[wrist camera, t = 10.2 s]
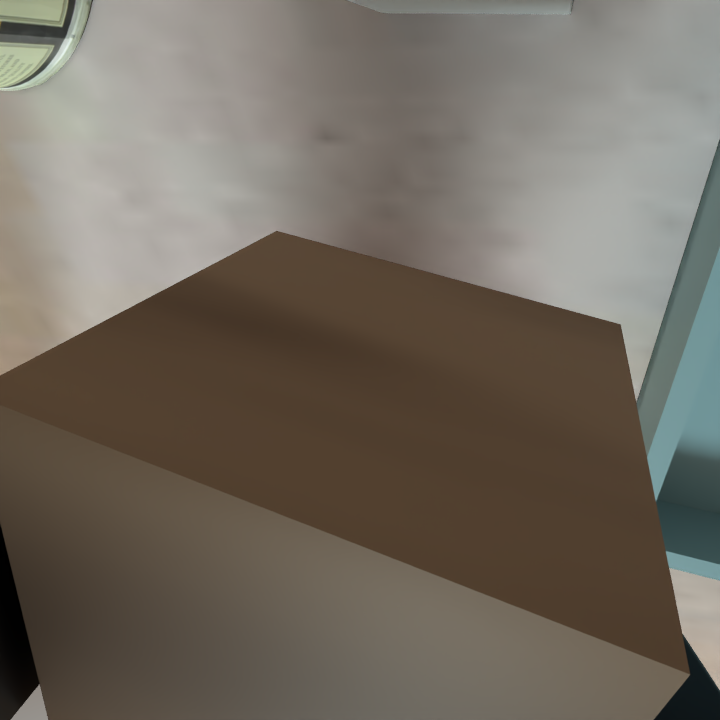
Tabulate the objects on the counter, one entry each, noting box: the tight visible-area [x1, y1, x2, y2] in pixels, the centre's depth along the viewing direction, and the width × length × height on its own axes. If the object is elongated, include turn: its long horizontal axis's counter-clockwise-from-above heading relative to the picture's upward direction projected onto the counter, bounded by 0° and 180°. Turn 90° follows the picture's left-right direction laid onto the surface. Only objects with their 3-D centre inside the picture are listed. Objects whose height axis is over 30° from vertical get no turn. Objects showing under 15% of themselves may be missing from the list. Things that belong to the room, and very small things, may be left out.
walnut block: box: [0, 231, 690, 720], centre depth 7 cm, size 5×5×5 cm
